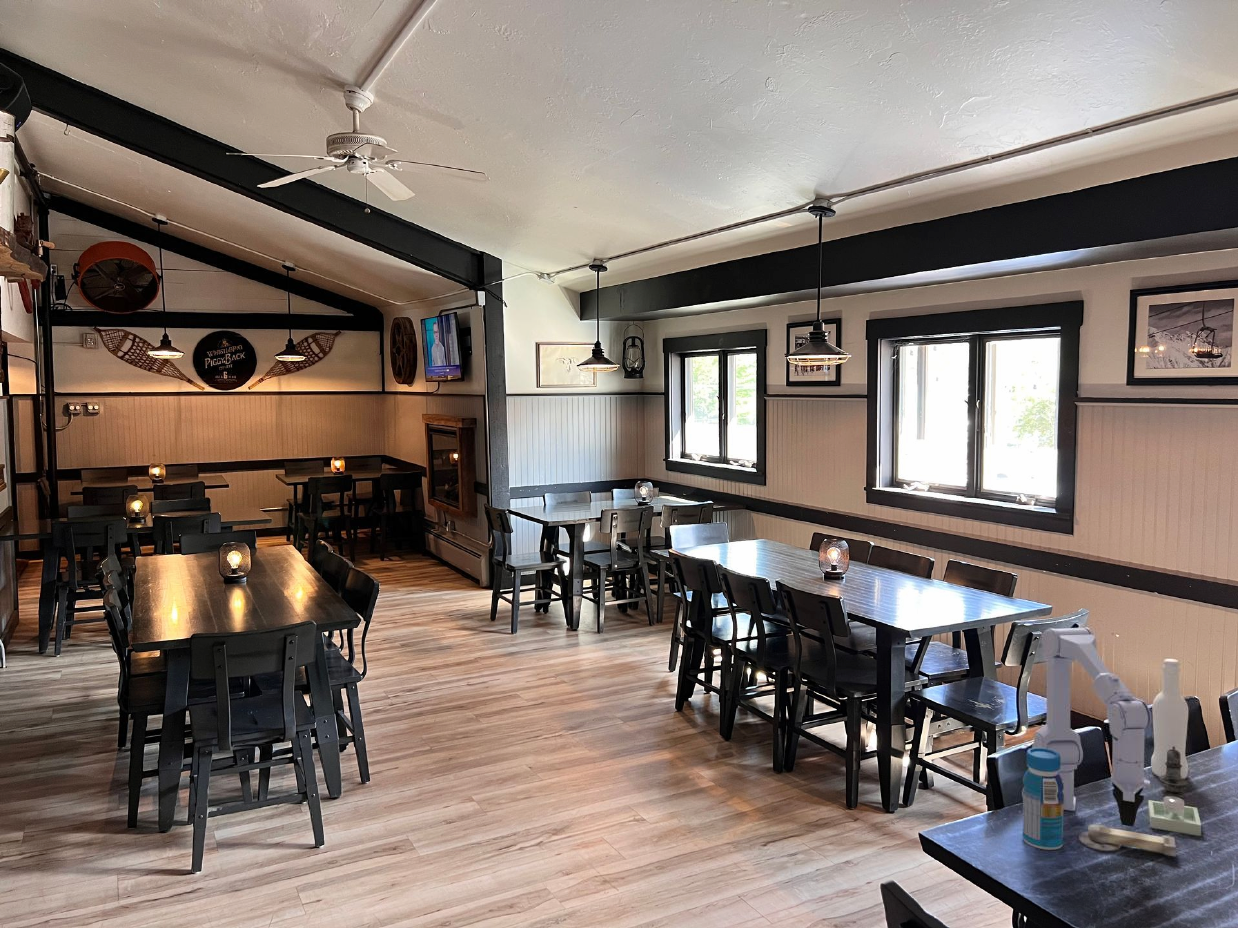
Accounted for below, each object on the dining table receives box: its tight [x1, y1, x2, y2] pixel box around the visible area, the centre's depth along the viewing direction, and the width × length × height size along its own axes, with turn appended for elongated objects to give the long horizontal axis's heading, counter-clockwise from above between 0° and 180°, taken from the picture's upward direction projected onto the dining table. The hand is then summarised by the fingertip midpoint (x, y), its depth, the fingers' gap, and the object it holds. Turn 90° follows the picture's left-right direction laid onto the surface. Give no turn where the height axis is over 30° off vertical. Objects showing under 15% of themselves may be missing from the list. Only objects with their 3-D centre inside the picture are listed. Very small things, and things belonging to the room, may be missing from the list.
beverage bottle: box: [1021, 747, 1065, 851], centre depth 197 cm, size 8×8×20 cm
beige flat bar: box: [1087, 824, 1177, 857], centre depth 194 cm, size 16×5×2 cm, turn 62°
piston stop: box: [1163, 796, 1185, 821], centre depth 205 cm, size 4×4×5 cm
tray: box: [1147, 799, 1202, 837], centre depth 205 cm, size 10×10×2 cm
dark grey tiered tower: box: [1158, 746, 1188, 800], centre depth 220 cm, size 6×6×12 cm
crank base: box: [1078, 830, 1121, 852], centre depth 197 cm, size 8×8×1 cm
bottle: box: [1150, 658, 1189, 780], centre depth 231 cm, size 8×8×30 cm
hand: (1127, 821), depth 188 cm, fingers open, 3 cm apart
